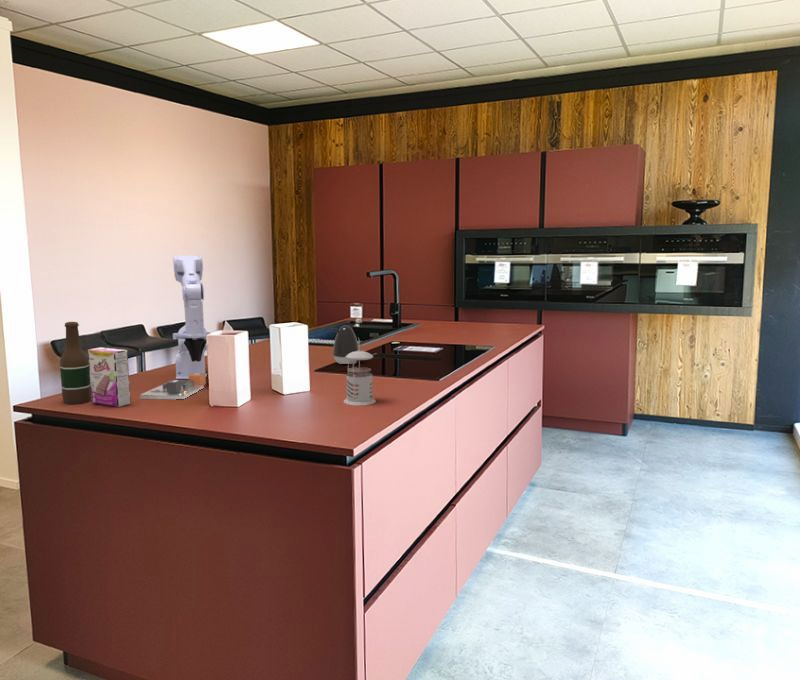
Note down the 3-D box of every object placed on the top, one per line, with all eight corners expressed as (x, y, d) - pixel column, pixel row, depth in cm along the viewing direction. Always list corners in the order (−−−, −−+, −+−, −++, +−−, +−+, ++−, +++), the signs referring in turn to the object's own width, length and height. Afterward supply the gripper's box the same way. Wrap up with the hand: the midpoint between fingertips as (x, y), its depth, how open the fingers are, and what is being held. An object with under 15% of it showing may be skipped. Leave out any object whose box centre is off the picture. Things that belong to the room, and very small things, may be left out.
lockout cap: (189, 387, 215) (188, 374, 215) (194, 384, 219) (193, 372, 219) (200, 387, 215) (200, 374, 214) (205, 385, 219) (205, 372, 218)
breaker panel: (140, 398, 199) (139, 389, 199) (163, 387, 214) (162, 379, 214) (183, 399, 198) (183, 391, 197) (204, 388, 213) (203, 380, 212)
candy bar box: (90, 404, 193) (86, 349, 190) (104, 400, 197) (100, 346, 195) (118, 408, 188) (114, 351, 186) (131, 404, 193) (128, 349, 190)
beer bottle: (97, 399, 198) (91, 321, 195) (77, 405, 191) (71, 324, 188) (77, 397, 201) (71, 320, 197) (56, 403, 194) (50, 323, 190)
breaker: (167, 392, 201) (166, 381, 201) (172, 390, 205) (171, 379, 204) (176, 392, 201) (175, 382, 200) (181, 390, 204) (180, 379, 204)
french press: (351, 406, 189) (350, 321, 185) (336, 398, 199) (334, 317, 195) (381, 403, 193) (381, 319, 190) (365, 395, 203) (364, 315, 200)
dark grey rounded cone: (332, 361, 261) (331, 324, 259) (358, 361, 262) (358, 323, 260) (332, 366, 251) (332, 327, 249) (359, 365, 252) (359, 326, 250)
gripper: (167, 321, 211) (169, 362, 213) (210, 322, 209) (212, 363, 211) (177, 319, 218) (179, 359, 220) (219, 319, 216) (221, 359, 218)
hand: (196, 361), depth 216 cm, fingers closed
